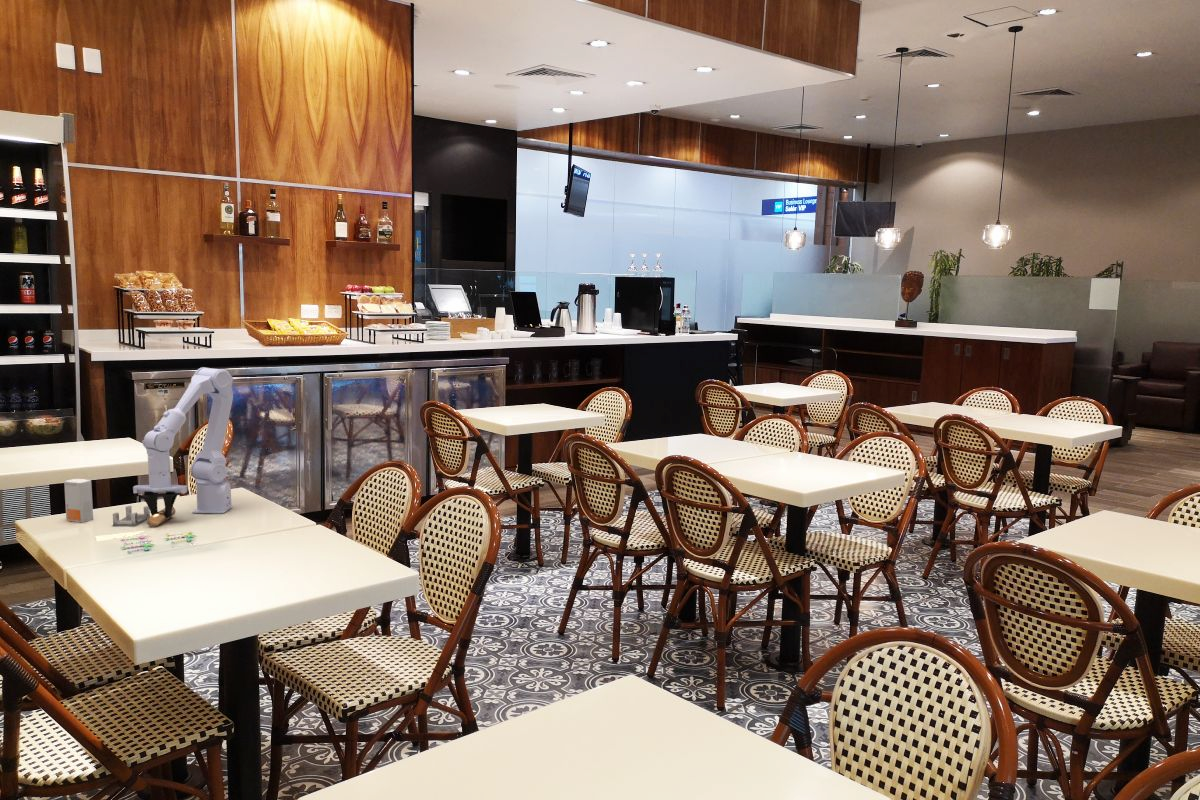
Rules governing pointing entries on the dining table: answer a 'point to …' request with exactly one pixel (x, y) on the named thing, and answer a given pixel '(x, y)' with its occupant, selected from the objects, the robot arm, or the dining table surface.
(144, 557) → the dining table surface
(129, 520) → the cradle
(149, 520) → the tube
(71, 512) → the skincare box
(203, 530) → the dining table surface
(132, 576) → the dining table surface
